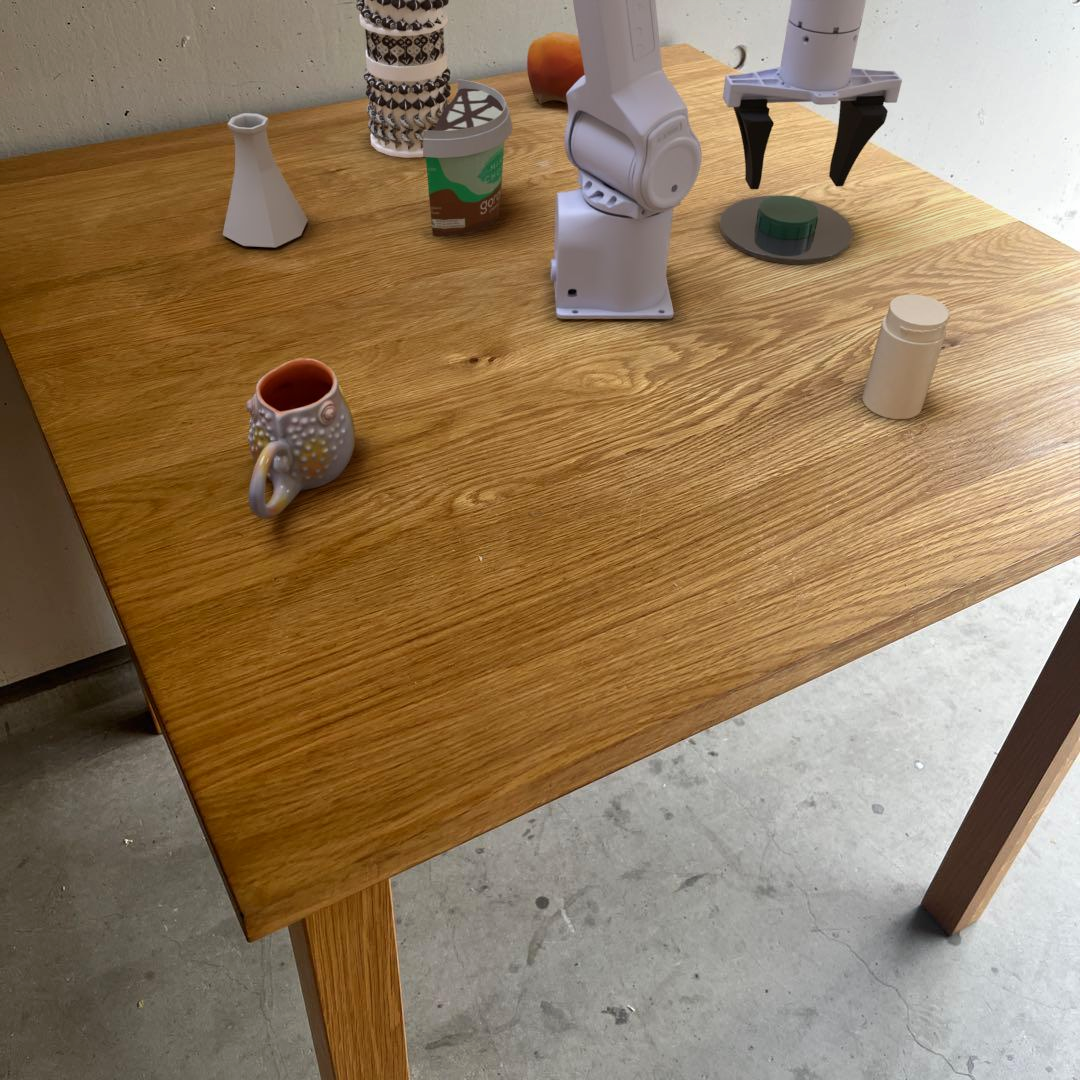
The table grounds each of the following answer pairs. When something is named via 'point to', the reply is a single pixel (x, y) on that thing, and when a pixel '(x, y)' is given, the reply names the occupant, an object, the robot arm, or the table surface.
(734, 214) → the coaster
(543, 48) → the fruit
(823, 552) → the table surface
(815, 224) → the lid
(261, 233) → the flask
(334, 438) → the mug
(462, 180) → the food container
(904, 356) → the jar
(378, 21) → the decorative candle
